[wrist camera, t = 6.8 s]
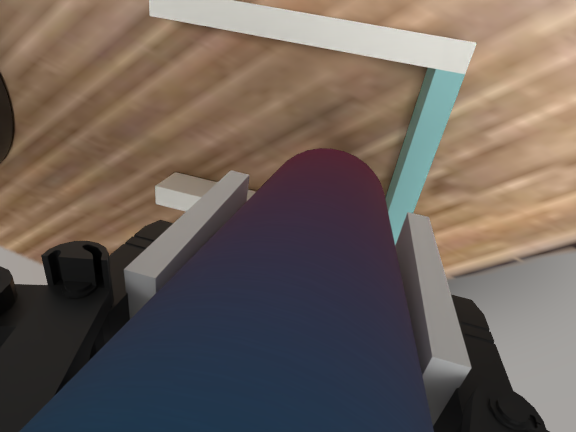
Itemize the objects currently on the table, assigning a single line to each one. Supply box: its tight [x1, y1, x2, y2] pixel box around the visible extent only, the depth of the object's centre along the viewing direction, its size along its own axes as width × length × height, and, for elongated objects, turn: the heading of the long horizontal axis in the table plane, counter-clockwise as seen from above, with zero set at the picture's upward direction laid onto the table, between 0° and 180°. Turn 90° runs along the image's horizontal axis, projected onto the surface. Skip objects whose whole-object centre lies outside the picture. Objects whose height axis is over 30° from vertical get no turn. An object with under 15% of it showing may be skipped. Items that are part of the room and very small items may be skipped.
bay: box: [149, 0, 477, 245], centre depth 23 cm, size 18×14×3 cm
